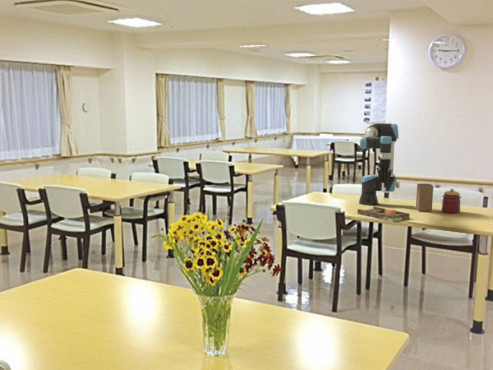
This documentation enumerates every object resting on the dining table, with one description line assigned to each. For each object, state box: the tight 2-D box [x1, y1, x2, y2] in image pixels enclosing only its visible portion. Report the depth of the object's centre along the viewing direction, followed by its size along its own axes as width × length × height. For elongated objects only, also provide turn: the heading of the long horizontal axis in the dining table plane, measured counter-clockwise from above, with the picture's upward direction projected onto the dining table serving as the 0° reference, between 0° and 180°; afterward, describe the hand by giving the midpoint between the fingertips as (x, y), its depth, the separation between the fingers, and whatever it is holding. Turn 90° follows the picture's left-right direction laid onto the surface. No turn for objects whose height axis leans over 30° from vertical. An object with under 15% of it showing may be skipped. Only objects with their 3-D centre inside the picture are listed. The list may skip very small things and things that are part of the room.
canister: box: [441, 188, 462, 214], centre depth 395 cm, size 13×13×18 cm
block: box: [415, 183, 434, 213], centre depth 400 cm, size 10×10×20 cm
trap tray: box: [357, 206, 410, 223], centre depth 380 cm, size 32×18×4 cm, turn 36°
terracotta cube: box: [384, 208, 396, 216], centre depth 369 cm, size 5×5×5 cm
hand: (383, 191), depth 373 cm, fingers closed
